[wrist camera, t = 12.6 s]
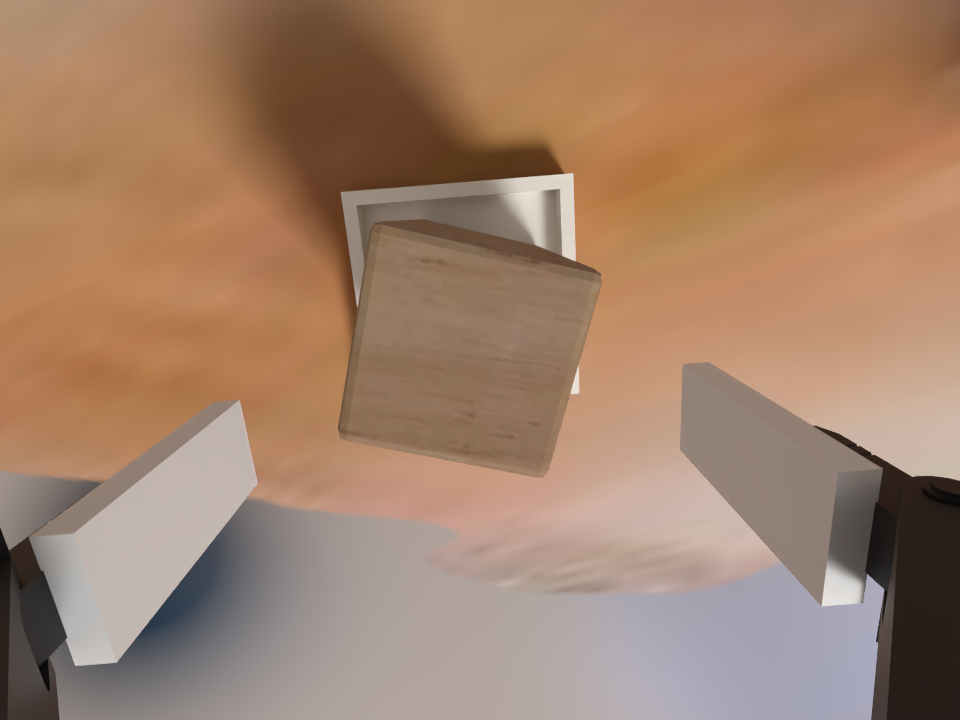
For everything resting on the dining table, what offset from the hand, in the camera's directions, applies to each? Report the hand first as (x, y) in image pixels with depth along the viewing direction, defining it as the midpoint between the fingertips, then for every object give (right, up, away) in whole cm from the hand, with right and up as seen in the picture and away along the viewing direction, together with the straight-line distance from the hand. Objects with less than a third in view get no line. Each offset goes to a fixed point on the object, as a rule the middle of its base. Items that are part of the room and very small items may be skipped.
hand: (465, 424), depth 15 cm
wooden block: (-1, +7, +27) cm, 28 cm away
